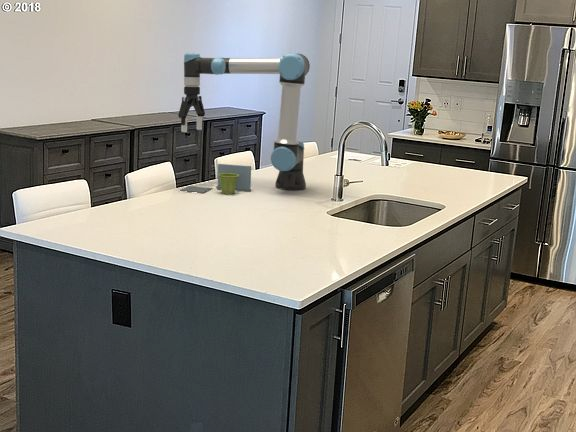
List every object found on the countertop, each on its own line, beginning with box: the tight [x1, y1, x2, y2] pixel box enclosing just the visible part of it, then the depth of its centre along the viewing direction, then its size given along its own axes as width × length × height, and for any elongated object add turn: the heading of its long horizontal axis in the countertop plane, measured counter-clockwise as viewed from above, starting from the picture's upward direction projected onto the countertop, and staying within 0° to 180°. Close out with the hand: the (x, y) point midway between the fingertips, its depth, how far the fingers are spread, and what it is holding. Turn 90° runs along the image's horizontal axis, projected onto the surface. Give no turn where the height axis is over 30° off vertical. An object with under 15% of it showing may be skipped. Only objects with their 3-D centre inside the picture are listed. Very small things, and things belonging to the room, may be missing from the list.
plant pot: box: [217, 173, 239, 195], centre depth 358 cm, size 9×9×9 cm
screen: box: [216, 163, 252, 193], centre depth 366 cm, size 16×3×12 cm, turn 75°
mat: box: [179, 185, 213, 194], centre depth 363 cm, size 12×12×1 cm
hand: (191, 130), depth 370 cm, fingers open, 13 cm apart
